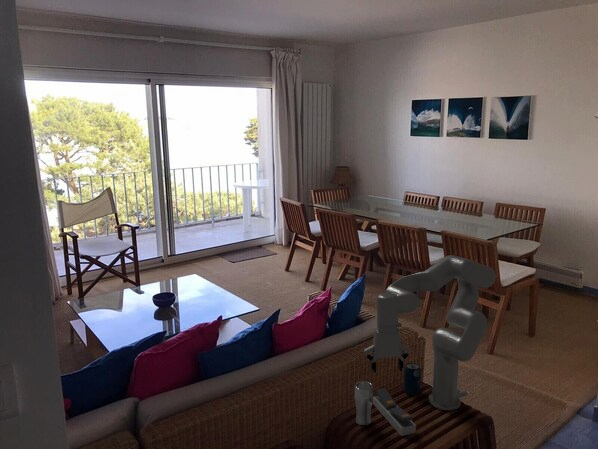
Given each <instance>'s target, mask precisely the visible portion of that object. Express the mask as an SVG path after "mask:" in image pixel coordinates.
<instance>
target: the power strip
mask: <svg viewBox="0 0 598 449" xmlns="http://www.w3.org/2000/svg"><path fill="white" fill-rule="evenodd" d="M372 405H374V407H375V408H376V409H377V411H379V413H380V414H382V415H383V417H384V418H385V420H386V421H387V422H388V423H389V424H390V425H391V426H392V428H393V429H395V431H396V432H397V433H398V434H399V435H400V436H401V437H403V436H409V435H412V434H416V432H417V425H416V424H415V423H414V422H413V420H410V421H405V422H403V421H402V420H400V419H399V418H398V417H396V416H395V415H394V414H392V413H391V412H390V409H392V408H388V409H387V408H386V406H385V405H384V403H383V402H382V400H381V399H380V398H379V396H378V395H377V396H373V401H372ZM397 407H399V406H398V405H397V406H396V407H393V408H397Z"/></svg>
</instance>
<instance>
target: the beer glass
mask: <svg viewBox="0 0 598 449" xmlns="http://www.w3.org/2000/svg"><path fill="white" fill-rule="evenodd" d="M373 397H374V390H373V384H372V383H371V382H370V381H365V380H361V381H358V382H356V383H355V384H354V404H355V409H356V417H355V423H356V424H357V425H358V426H361V425H367V426H369V424H370V425H372V414H371V411H372V406H373Z"/></svg>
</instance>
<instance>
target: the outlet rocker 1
mask: <svg viewBox="0 0 598 449" xmlns="http://www.w3.org/2000/svg"><path fill="white" fill-rule="evenodd" d="M375 393H376V395H377V396H379V398H380V399H381V400H382V402H383V403H384V405H385V406H386V408H387V409H388V408H393V407H396V406H398V404H397V402H396V401H395V400H394V399H393V397H392V396H391V394H390V393H389V391H388V390H387V389H386V388H385V387H384V388H378V389H375Z"/></svg>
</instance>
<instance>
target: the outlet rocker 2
mask: <svg viewBox="0 0 598 449" xmlns="http://www.w3.org/2000/svg"><path fill="white" fill-rule="evenodd" d="M390 412H391V413H392V414H394V415H395V416H396V417H398V418H399V419H400V420H402V421H403V422H405V421H410V420H411V421H413V420H414V416H413V415H411V414H410V413H408V412H407V411H405V410H404V409H403V408H401V407H400V406H398V407H397V408H392V409H390Z"/></svg>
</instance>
